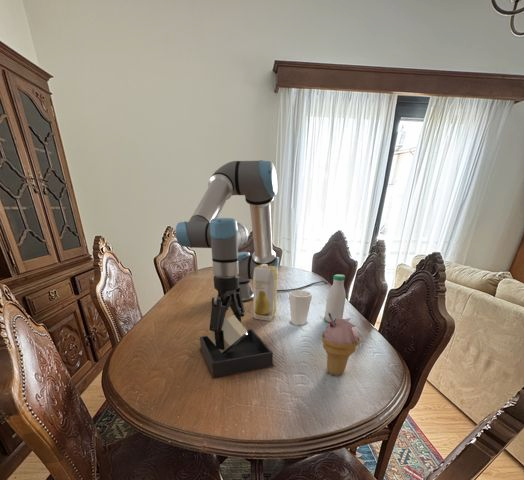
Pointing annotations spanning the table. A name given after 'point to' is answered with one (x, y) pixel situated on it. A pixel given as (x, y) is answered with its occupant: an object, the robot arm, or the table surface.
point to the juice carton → (264, 292)
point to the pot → (230, 333)
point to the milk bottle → (336, 299)
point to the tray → (237, 355)
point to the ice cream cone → (339, 344)
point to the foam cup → (299, 306)
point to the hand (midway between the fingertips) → (229, 341)
